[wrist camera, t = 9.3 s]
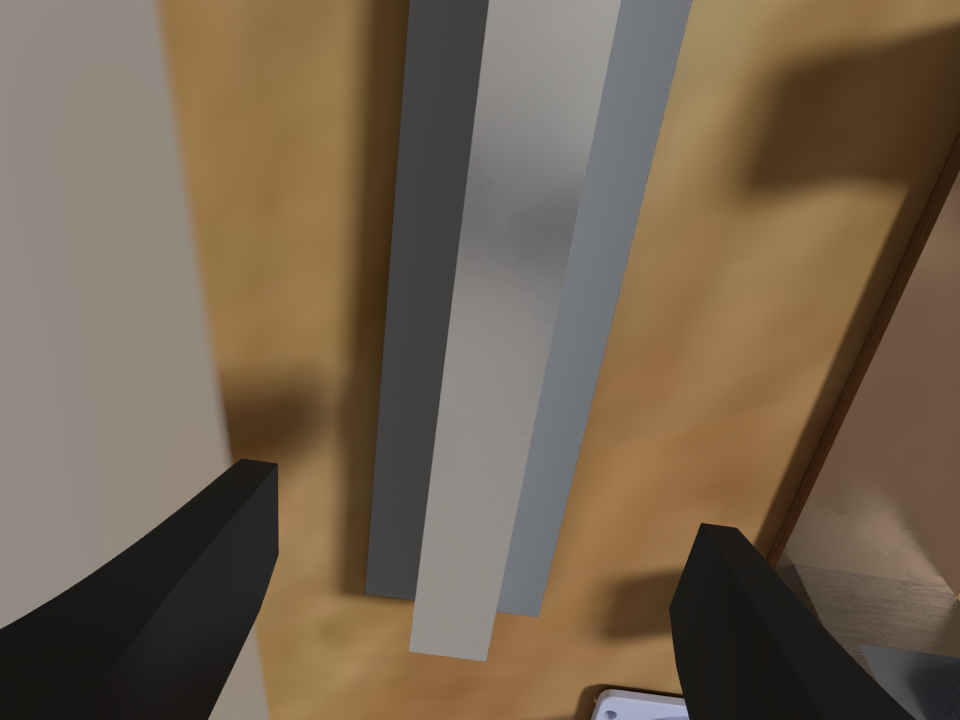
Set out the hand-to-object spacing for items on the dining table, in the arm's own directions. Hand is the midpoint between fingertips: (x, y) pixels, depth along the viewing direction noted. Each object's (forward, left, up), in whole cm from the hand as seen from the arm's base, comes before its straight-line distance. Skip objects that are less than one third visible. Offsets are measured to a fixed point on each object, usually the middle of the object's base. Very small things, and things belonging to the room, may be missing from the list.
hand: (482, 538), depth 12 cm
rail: (0, 0, -8) cm, 8 cm away
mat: (0, 0, -8) cm, 8 cm away
